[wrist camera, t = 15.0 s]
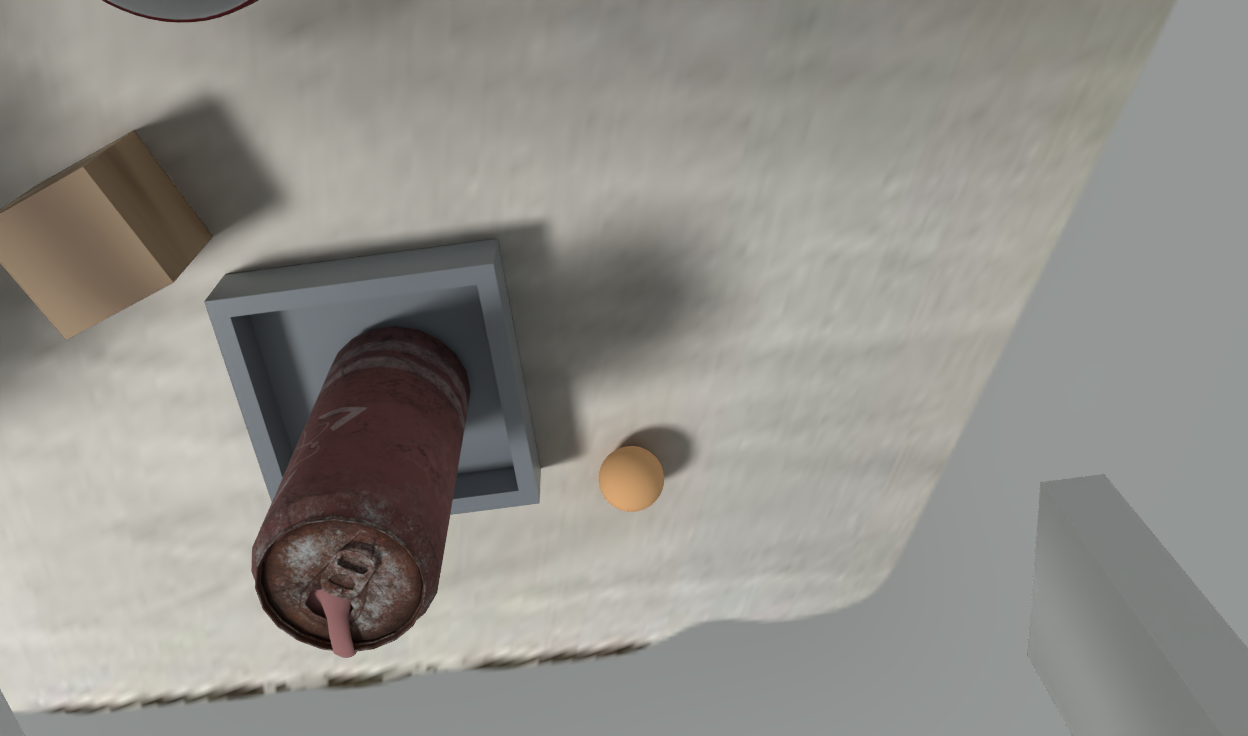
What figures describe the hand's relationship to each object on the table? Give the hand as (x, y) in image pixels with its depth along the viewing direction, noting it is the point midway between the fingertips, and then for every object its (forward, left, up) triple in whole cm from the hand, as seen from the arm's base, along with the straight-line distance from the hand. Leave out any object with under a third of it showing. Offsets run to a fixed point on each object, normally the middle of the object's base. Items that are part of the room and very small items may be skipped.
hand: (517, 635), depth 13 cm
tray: (-9, -12, -32) cm, 35 cm away
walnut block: (-18, -3, -32) cm, 37 cm away
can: (-8, -12, -31) cm, 34 cm away
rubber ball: (+1, -18, -30) cm, 35 cm away
